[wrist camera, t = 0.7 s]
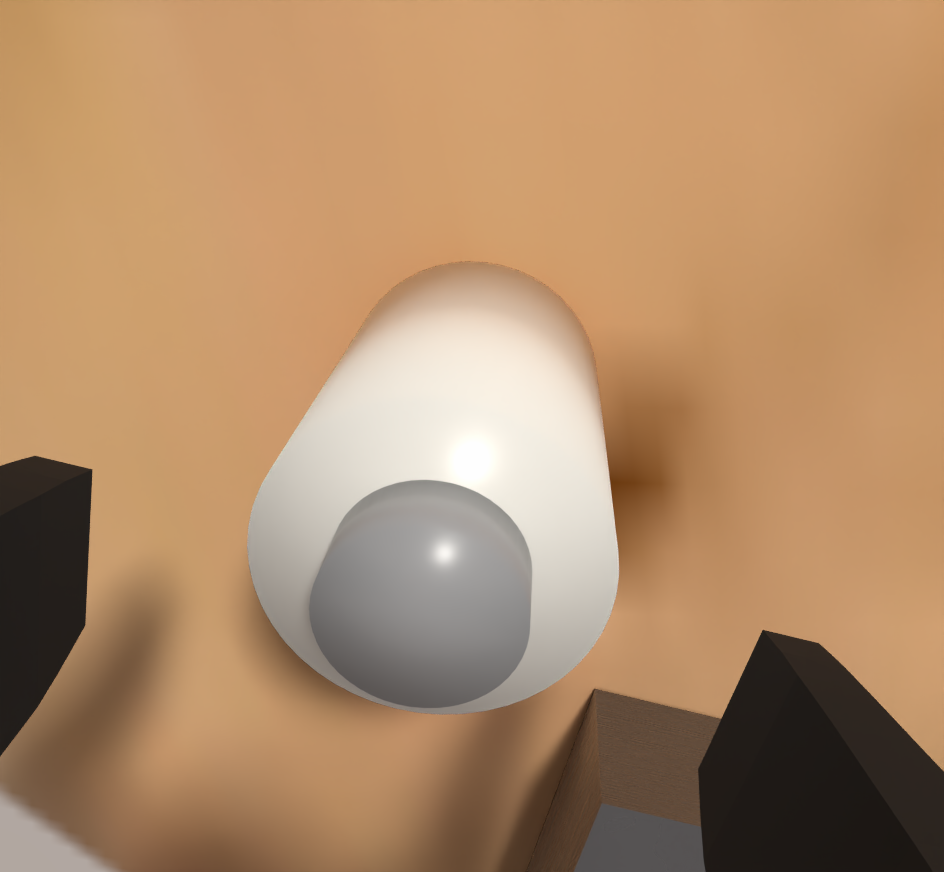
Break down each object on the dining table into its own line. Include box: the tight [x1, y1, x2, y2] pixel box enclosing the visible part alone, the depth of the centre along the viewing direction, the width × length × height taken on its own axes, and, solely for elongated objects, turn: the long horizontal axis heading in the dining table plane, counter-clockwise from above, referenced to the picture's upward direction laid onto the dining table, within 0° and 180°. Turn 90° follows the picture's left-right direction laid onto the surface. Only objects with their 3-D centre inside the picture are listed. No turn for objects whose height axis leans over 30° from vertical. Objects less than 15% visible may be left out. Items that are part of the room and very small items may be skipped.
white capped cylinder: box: [247, 261, 619, 714], centre depth 13 cm, size 4×4×7 cm
